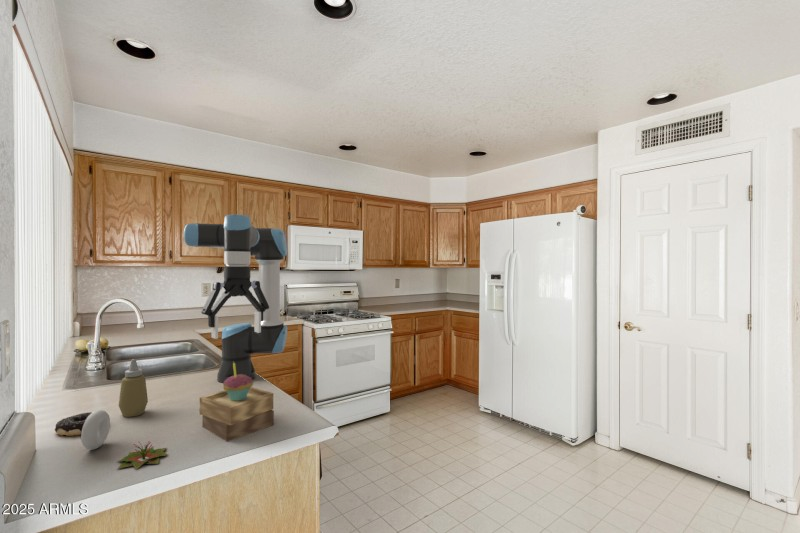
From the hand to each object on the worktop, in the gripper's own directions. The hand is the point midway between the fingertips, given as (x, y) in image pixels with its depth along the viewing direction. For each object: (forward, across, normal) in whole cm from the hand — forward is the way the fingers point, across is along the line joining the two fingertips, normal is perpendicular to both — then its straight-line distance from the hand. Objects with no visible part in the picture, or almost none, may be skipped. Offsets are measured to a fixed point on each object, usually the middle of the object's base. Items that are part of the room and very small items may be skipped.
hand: (237, 335), depth 122 cm
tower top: (+24, 0, 0) cm, 24 cm away
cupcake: (+20, 0, 0) cm, 20 cm away
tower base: (+28, 0, 0) cm, 29 cm away
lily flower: (+28, +26, +2) cm, 38 cm away
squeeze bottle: (+28, +18, -34) cm, 48 cm away
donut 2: (+28, +32, -14) cm, 45 cm away
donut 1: (+28, +32, -32) cm, 53 cm away
